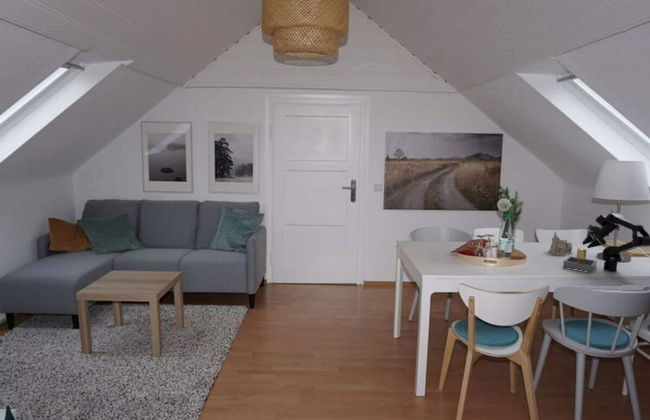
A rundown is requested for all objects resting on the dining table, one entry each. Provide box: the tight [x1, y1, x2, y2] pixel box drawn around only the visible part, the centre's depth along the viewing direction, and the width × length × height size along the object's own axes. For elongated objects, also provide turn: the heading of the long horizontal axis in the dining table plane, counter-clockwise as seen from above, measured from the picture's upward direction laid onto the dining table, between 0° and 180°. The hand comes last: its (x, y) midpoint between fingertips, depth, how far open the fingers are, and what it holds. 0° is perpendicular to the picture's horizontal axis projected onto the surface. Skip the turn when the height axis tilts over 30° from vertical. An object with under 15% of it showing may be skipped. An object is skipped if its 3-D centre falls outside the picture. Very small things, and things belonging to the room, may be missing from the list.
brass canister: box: [575, 248, 588, 264], centre depth 297 cm, size 5×5×11 cm
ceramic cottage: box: [548, 232, 573, 257], centre depth 332 cm, size 16×16×15 cm
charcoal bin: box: [562, 255, 598, 273], centre depth 297 cm, size 16×16×4 cm
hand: (585, 245), depth 299 cm, fingers open, 9 cm apart
